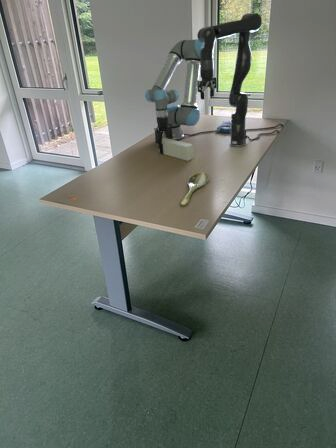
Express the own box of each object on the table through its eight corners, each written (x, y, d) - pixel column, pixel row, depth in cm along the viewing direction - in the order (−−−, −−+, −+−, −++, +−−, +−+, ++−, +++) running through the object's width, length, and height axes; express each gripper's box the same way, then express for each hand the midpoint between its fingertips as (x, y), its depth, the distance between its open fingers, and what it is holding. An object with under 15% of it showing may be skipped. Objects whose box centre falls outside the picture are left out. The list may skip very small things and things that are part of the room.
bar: (159, 152, 223) (157, 139, 219) (165, 150, 226) (163, 137, 222) (187, 160, 206) (187, 146, 202) (193, 158, 209) (193, 144, 205)
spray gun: (242, 125, 260) (223, 125, 266) (242, 120, 258) (223, 120, 264) (234, 134, 245) (215, 133, 251) (234, 128, 242) (214, 128, 249)
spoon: (193, 209, 156) (193, 205, 155) (172, 207, 159) (171, 203, 158) (212, 175, 182) (212, 172, 181) (193, 174, 186) (193, 170, 184)
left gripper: (155, 120, 203) (158, 157, 215) (177, 113, 213) (179, 148, 225) (146, 119, 207) (150, 154, 219) (168, 112, 218) (171, 146, 230)
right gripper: (203, 70, 184) (204, 100, 192) (220, 66, 192) (219, 96, 200) (193, 69, 188) (194, 99, 197) (209, 66, 196) (210, 95, 205)
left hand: (165, 151), depth 222 cm, fingers open, 6 cm apart
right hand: (207, 97), depth 198 cm, fingers open, 8 cm apart
